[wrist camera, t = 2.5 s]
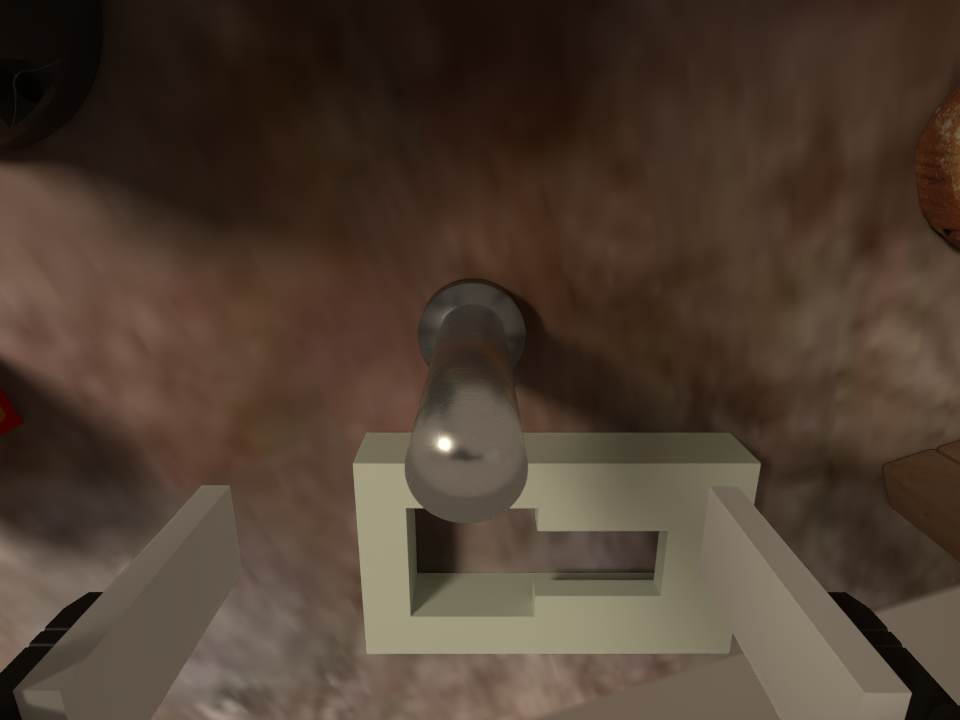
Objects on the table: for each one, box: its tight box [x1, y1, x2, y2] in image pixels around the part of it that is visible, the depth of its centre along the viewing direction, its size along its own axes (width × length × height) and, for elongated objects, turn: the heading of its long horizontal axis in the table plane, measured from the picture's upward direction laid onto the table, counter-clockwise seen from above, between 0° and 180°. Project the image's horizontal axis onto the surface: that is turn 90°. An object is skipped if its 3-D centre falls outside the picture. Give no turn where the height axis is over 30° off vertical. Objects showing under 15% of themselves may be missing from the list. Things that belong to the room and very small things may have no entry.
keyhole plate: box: [353, 433, 761, 654], centre depth 38 cm, size 24×14×4 cm, turn 90°
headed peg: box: [405, 278, 528, 523], centre depth 27 cm, size 6×6×18 cm
